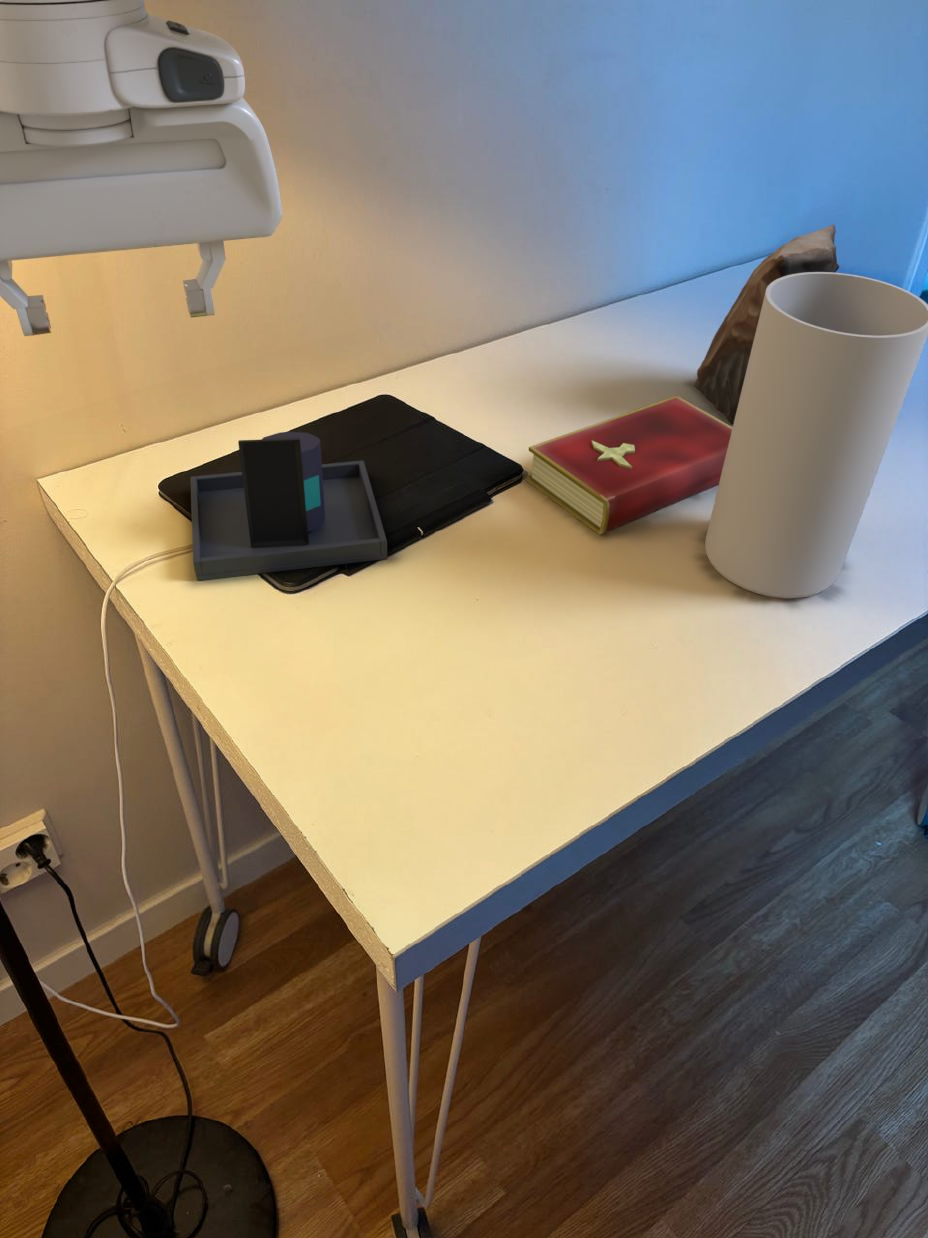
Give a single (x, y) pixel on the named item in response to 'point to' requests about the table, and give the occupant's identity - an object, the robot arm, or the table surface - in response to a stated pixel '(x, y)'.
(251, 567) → the shallow rimmed tray
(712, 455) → the hardcover book
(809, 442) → the cylinder vase
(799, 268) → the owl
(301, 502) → the speaker
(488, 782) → the table surface
